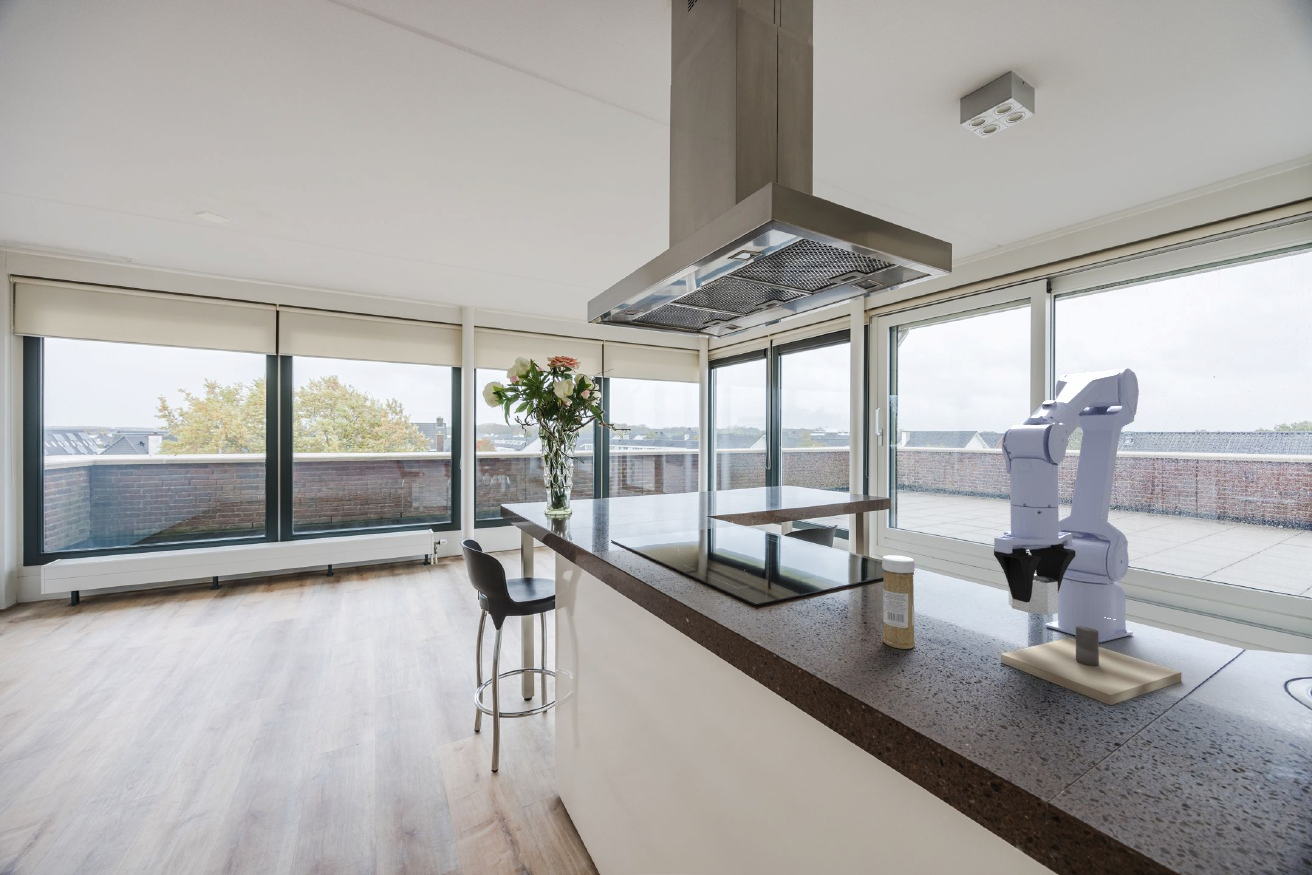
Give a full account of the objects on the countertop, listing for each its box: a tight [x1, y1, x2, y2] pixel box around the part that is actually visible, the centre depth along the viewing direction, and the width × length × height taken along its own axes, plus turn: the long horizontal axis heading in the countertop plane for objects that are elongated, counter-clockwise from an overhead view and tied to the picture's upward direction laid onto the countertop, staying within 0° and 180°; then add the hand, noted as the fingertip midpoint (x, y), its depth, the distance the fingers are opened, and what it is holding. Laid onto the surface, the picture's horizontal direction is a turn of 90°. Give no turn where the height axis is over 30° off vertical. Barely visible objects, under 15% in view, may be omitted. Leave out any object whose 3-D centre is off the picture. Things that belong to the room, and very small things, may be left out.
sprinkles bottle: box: [881, 554, 916, 650], centre depth 80 cm, size 5×5×13 cm
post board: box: [1000, 626, 1182, 706], centre depth 70 cm, size 16×13×6 cm
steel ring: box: [1008, 573, 1058, 616], centre depth 76 cm, size 6×6×4 cm
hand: (1034, 597), depth 76 cm, fingers closed on steel ring, 5 cm apart
